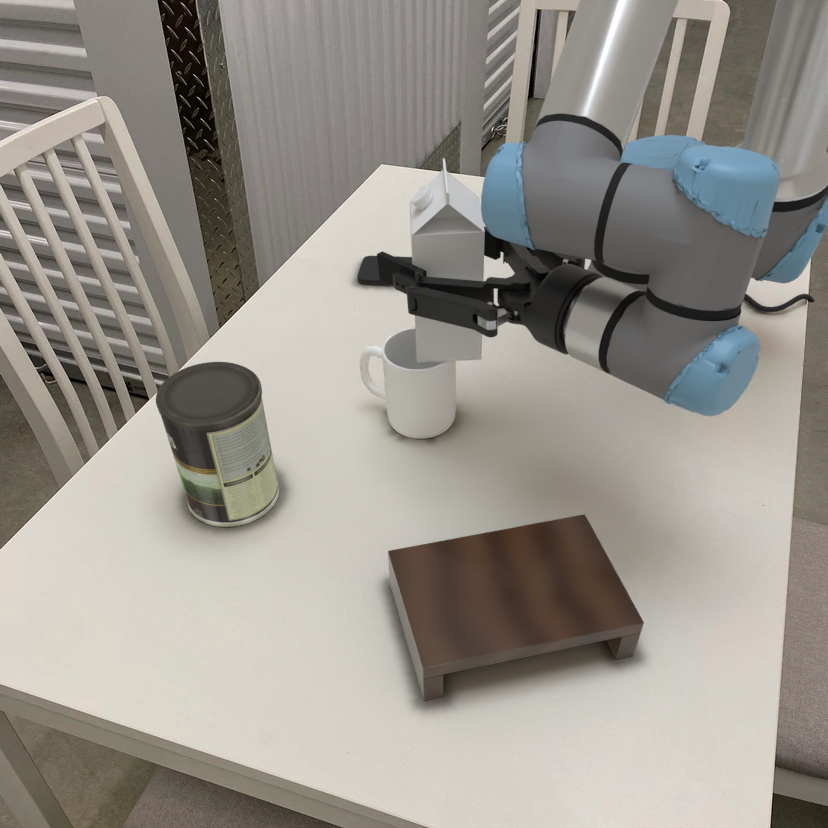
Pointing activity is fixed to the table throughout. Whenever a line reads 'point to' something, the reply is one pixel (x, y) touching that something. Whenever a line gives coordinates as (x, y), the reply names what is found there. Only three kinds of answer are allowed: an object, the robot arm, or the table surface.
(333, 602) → the table surface
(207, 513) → the coffee can
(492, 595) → the shelf
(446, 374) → the cup
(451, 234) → the milk carton
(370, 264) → the phone
